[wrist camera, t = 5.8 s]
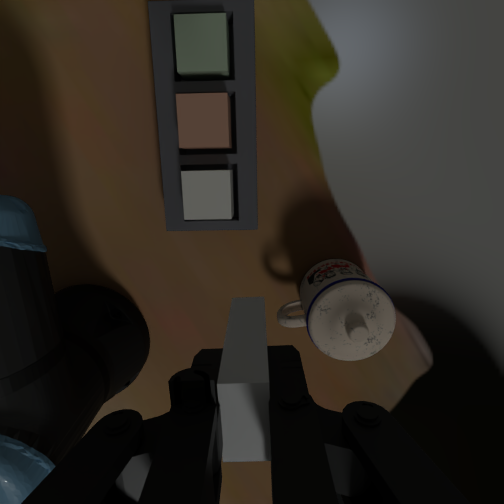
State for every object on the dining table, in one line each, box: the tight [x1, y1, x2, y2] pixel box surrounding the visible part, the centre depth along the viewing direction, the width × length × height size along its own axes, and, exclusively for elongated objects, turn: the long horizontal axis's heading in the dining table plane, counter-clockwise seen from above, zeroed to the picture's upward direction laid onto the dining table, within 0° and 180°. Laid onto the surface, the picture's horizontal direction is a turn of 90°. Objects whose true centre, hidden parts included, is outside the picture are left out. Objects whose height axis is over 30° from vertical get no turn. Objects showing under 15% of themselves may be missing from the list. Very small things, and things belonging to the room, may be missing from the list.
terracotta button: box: [176, 93, 232, 149], centre depth 34 cm, size 5×5×4 cm
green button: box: [174, 13, 231, 81], centre depth 34 cm, size 5×5×4 cm
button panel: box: [148, 0, 258, 231], centre depth 37 cm, size 10×22×4 cm, turn 1°
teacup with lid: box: [277, 259, 396, 361], centre depth 38 cm, size 12×9×12 cm
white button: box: [181, 170, 234, 220], centre depth 36 cm, size 5×5×4 cm
